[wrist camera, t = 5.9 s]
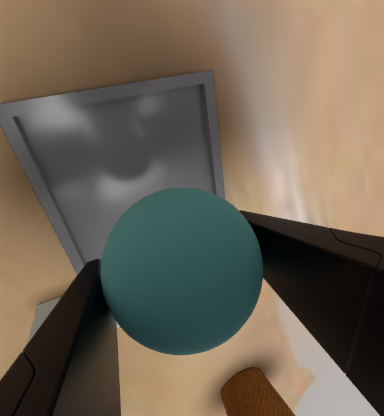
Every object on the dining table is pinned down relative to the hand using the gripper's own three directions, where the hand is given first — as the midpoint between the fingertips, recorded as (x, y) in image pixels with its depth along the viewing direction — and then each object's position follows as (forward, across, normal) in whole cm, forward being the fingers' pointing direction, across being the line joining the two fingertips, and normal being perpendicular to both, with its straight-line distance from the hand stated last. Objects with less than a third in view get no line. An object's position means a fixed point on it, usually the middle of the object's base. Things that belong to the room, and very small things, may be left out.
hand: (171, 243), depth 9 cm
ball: (-1, 0, 0) cm, 1 cm away
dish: (+8, 0, 0) cm, 8 cm away
